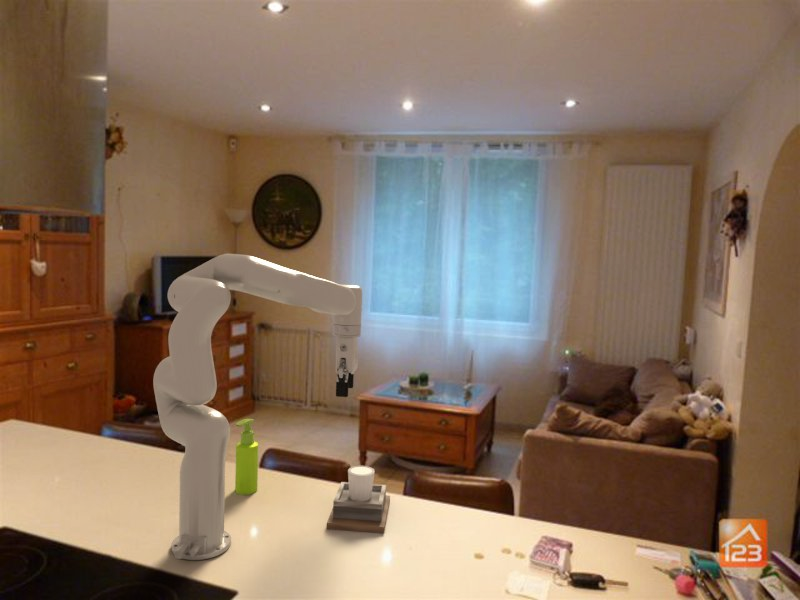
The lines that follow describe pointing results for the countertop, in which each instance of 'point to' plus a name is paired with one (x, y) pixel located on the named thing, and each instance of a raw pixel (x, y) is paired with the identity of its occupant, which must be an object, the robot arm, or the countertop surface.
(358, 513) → the stand
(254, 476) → the soap dispenser
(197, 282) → the robot arm
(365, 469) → the white cup
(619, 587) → the countertop surface
